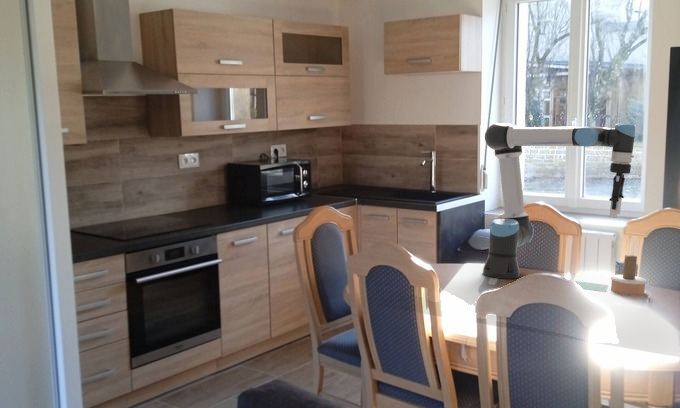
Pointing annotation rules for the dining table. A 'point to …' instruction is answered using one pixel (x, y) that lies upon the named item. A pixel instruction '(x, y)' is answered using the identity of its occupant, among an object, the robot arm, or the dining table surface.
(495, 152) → the robot arm
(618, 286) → the bowl
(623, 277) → the lid
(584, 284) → the trivet
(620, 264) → the medicine box
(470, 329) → the dining table surface
